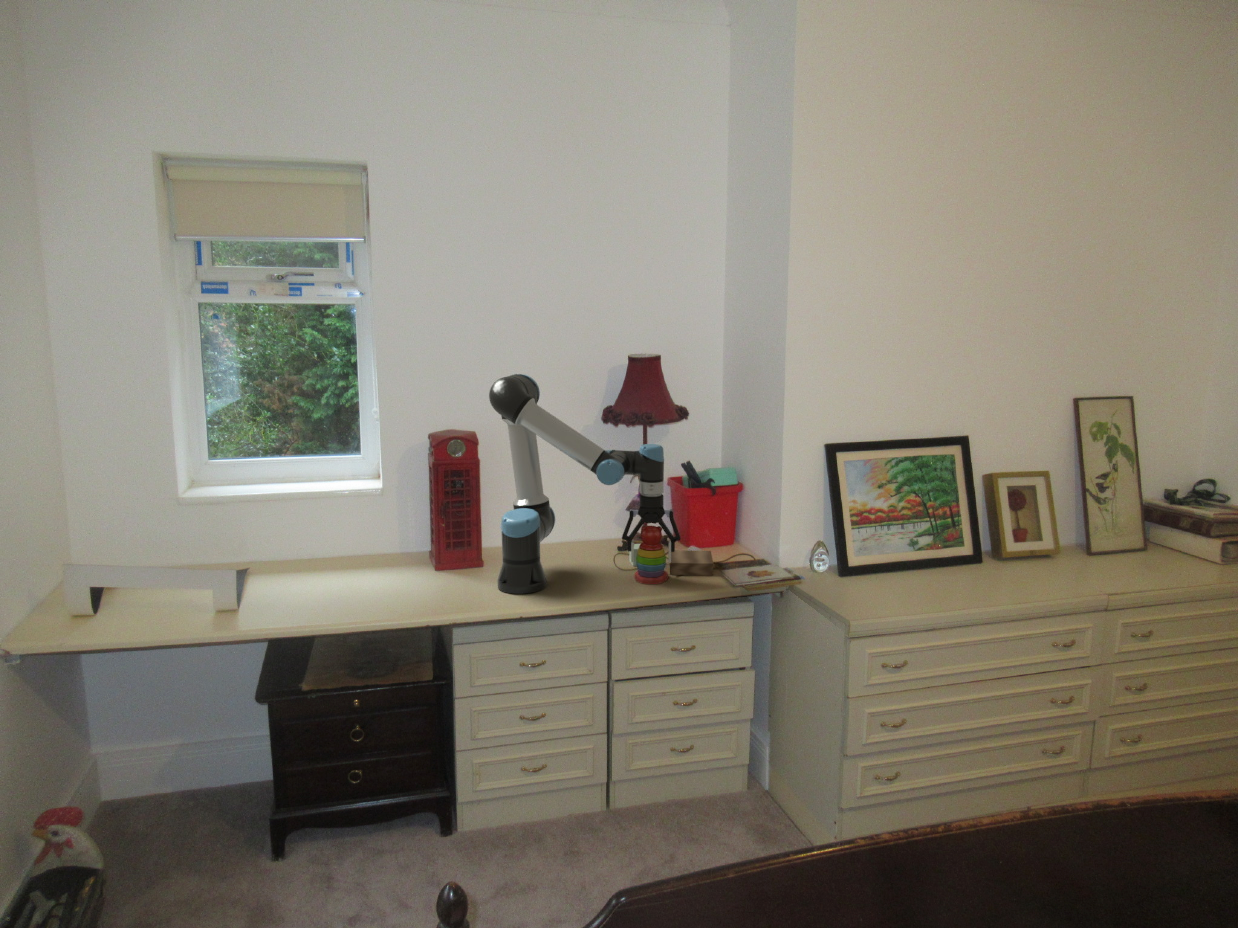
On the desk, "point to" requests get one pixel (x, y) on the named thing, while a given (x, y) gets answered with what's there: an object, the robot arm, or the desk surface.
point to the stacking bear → (651, 557)
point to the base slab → (691, 563)
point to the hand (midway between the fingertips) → (651, 561)
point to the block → (636, 547)
